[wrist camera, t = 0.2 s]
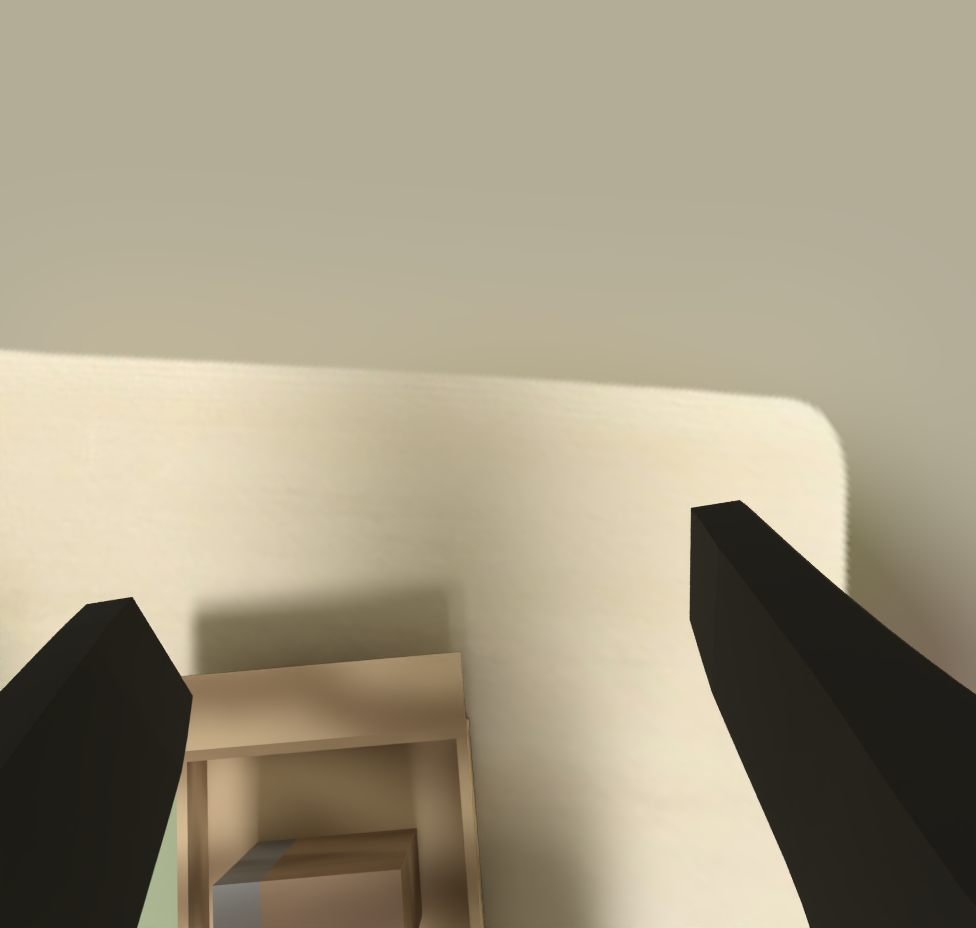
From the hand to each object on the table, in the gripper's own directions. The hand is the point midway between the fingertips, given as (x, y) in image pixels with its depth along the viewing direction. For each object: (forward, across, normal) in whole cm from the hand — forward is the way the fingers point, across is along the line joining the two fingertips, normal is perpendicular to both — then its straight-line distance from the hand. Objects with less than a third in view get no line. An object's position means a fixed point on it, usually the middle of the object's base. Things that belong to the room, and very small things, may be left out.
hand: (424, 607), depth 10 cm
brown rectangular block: (+12, +10, +30) cm, 34 cm away
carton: (+12, +10, +30) cm, 34 cm away
